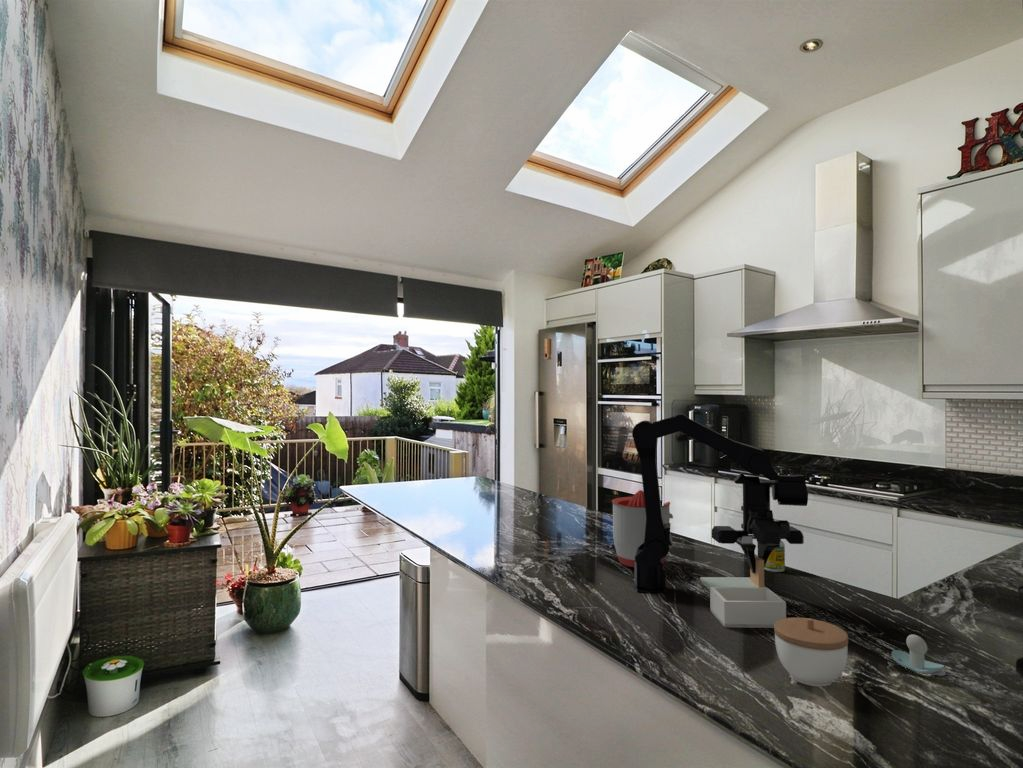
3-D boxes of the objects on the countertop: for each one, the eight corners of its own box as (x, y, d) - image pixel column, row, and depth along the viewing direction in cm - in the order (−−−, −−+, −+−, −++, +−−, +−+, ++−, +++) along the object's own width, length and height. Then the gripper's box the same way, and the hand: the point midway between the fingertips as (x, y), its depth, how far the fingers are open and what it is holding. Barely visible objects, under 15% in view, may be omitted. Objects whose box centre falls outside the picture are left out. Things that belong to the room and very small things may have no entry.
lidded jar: (768, 682, 93) (768, 622, 94) (780, 657, 102) (779, 603, 103) (846, 701, 88) (845, 638, 88) (851, 673, 96) (850, 615, 97)
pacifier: (904, 659, 102) (887, 667, 99) (904, 623, 102) (887, 629, 99) (954, 676, 96) (937, 684, 93) (953, 637, 96) (936, 644, 93)
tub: (724, 627, 116) (724, 601, 116) (710, 610, 125) (710, 587, 125) (786, 627, 115) (785, 602, 115) (767, 611, 124) (767, 587, 124)
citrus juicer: (688, 567, 156) (687, 492, 157) (632, 575, 150) (632, 496, 150) (653, 553, 171) (653, 484, 171) (601, 559, 164) (601, 487, 165)
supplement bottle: (770, 565, 158) (770, 529, 158) (789, 570, 154) (788, 533, 154) (758, 568, 155) (758, 532, 155) (777, 573, 151) (776, 536, 151)
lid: (713, 597, 128) (712, 562, 129) (700, 584, 138) (700, 551, 138) (770, 598, 128) (770, 562, 128) (753, 584, 137) (753, 551, 138)
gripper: (726, 510, 125) (727, 584, 125) (815, 510, 125) (816, 584, 125) (710, 501, 137) (711, 568, 136) (791, 501, 136) (792, 569, 136)
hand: (757, 573), depth 133 cm, fingers closed on lid
